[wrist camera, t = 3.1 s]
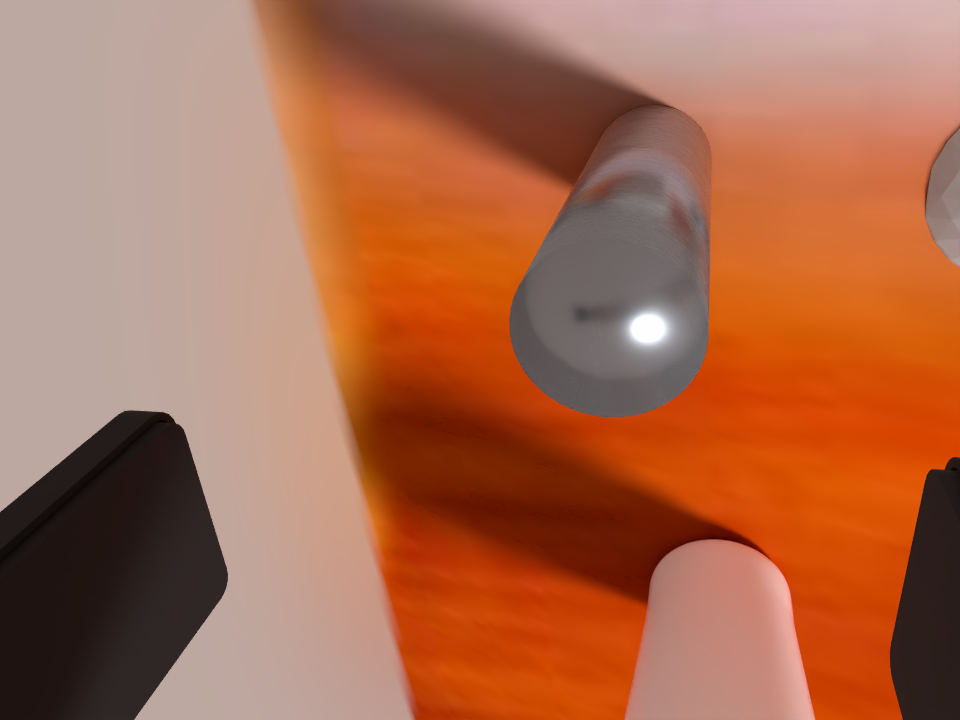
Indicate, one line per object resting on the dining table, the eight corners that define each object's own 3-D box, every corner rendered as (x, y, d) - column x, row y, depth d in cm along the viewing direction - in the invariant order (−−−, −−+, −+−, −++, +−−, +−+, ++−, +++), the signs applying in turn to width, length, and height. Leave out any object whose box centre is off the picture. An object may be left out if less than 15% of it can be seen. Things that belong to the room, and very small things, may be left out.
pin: (652, 79, 23) (603, 196, 13) (737, 162, 24) (752, 338, 14) (570, 166, 25) (471, 328, 15) (650, 242, 26) (607, 449, 15)
